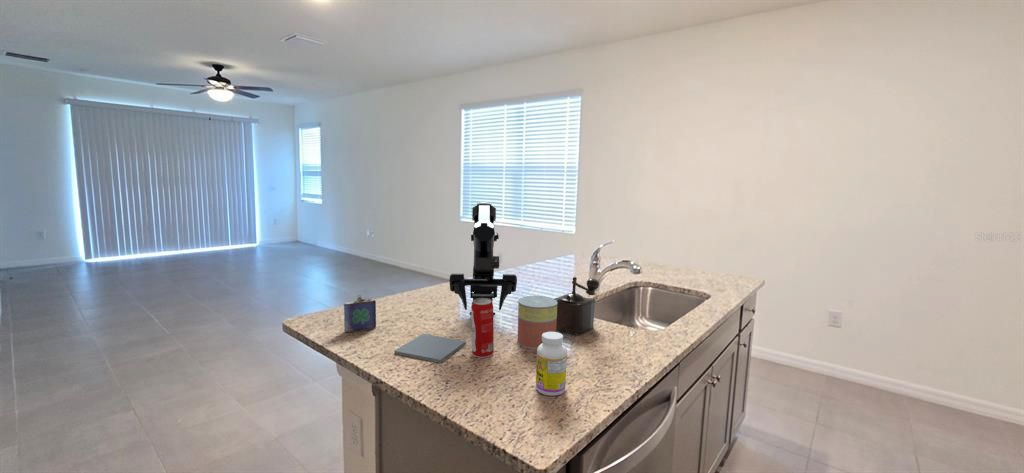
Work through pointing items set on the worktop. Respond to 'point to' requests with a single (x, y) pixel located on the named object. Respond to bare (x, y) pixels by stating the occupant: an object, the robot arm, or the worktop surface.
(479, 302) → the beverage can
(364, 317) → the flask
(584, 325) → the pepper mill
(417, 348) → the rubber mat
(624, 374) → the worktop surface
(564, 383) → the supplement bottle
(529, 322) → the canned food
